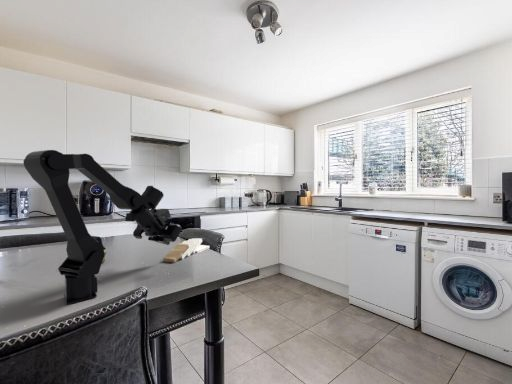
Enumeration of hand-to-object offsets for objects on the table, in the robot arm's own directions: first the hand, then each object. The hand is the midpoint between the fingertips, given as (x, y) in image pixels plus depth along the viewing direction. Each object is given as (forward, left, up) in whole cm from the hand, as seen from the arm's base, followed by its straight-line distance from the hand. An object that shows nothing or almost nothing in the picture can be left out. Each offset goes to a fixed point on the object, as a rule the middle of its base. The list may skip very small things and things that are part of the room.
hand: (168, 244), depth 99 cm
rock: (-24, +18, -7) cm, 31 cm away
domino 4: (+11, +6, -6) cm, 14 cm away
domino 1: (0, 0, -6) cm, 6 cm away
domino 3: (+8, +4, -6) cm, 10 cm away
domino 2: (+4, +2, -6) cm, 8 cm away
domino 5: (+14, +7, -7) cm, 17 cm away
